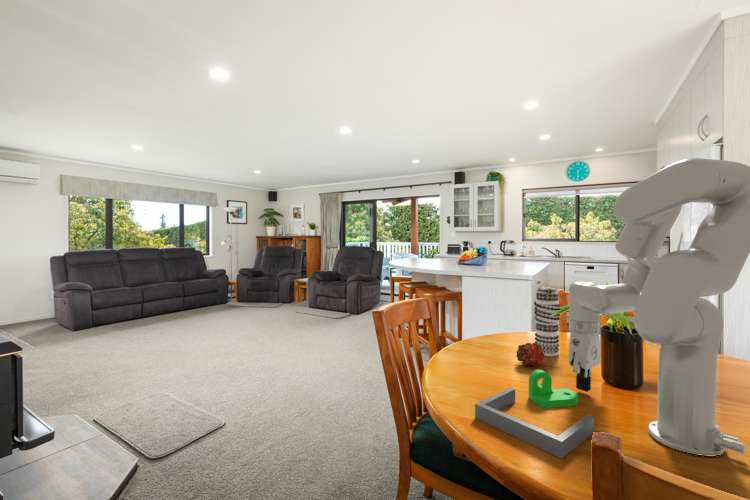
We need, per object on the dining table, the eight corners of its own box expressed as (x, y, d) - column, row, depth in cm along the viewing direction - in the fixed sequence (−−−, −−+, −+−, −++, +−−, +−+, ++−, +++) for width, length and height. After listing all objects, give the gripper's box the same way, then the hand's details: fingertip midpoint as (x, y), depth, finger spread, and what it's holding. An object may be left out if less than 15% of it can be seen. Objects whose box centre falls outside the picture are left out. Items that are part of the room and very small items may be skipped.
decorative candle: (548, 357, 131) (548, 290, 130) (528, 350, 140) (528, 287, 139) (565, 354, 135) (566, 288, 134) (545, 347, 144) (545, 285, 143)
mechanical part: (541, 408, 93) (541, 378, 93) (528, 398, 99) (528, 370, 99) (583, 405, 95) (583, 375, 95) (568, 395, 101) (568, 367, 101)
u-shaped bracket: (593, 432, 81) (594, 417, 81) (561, 458, 72) (562, 441, 72) (510, 399, 98) (510, 387, 98) (475, 417, 89) (475, 403, 89)
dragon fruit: (517, 373, 121) (537, 370, 128) (537, 363, 116) (557, 361, 123) (506, 348, 126) (526, 347, 133) (525, 339, 120) (545, 338, 127)
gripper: (586, 332, 94) (585, 401, 94) (609, 324, 103) (608, 387, 103) (557, 327, 100) (557, 392, 100) (581, 319, 109) (581, 378, 109)
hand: (583, 389), depth 102 cm, fingers closed
